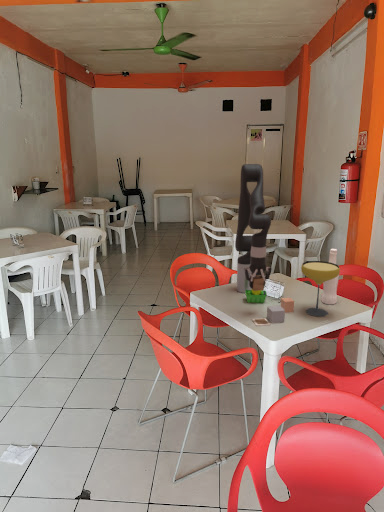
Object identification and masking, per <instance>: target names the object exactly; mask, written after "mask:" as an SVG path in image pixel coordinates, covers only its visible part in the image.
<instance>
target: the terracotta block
mask: <svg viewBox="0 0 384 512" xmlns="http://www.w3.org/2000/svg"><path fill="white" fill-rule="evenodd" d="M280 306H281V307H282V308H283V309H284V310H285V314H287V313H294V310H295V309H294V308H295V301H294V300H293V299H292V298H291V297H283V298H282V297H281V298H280Z"/></svg>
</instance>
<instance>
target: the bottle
mask: <svg viewBox="0 0 384 512" xmlns="http://www.w3.org/2000/svg"><path fill="white" fill-rule="evenodd" d="M328 253H329V256H328V257H329V258H328V262H330V263H334V264H336V265H337V255H338V248H330V250H329V252H328ZM339 278H340V274H339V275H338V276H337V277H336V278H334V279H331V280H328V281H325V282H323V283H322V284H323V285H322V293H321V297H320V298H321V302H322V303H323V304H325V305H336V304H337V300H338V296H337V292H338V284H339Z"/></svg>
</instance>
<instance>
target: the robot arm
mask: <svg viewBox="0 0 384 512" xmlns="http://www.w3.org/2000/svg"><path fill="white" fill-rule="evenodd" d="M248 183H256V186H255V187H254V189H253V190H252V192H251V194H250V191H249V189H248ZM239 191H240V192H239V193H240V194H239V200H238V201H239V204H238V210H237V211H238V214H237V215H238V216H237V228H236V235H235V243H234V244H235V246H234V247H235V250H236V251H237V252H241V253H242V252H246V253H245V254H243V255H239V256H238V258H237V260H236V261H237V264H236V265H237V267H236V270H237V271H236V273H237V274H236V291H237V292H238V293H240V294H241V293H242V294H246V292H245V290H252V288H253V278H254V277H255V276H261V277H262V278H264V287H265V286H266V280H270V277H271V276H270V275H271V273H272V267H270V266H267V265H266V264H267V261H266V260H267V237H268V233H269V230H270V227H271V224H272V218H271V216H270V215H269V214H266V213H265V211H266V205H265V197H264V169H263V166H262V165H261V164H259V163H244V164H242V165H241V169H240V189H239ZM263 213H265V214H263ZM248 227H250V229H251V230H261V231H259V232H256V233H253V234H252V235H244V233H245V231H246V229H247V228H248ZM265 271H266V272H265ZM264 272H265V273H264ZM264 287H263V289H264Z"/></svg>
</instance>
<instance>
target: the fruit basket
mask: <svg viewBox="0 0 384 512" xmlns="http://www.w3.org/2000/svg"><path fill="white" fill-rule="evenodd" d="M245 292H246V293H245V297H246V301H247V303H257V304H259V303H260V304H264V303H265V301H266V298H267V295H268V294H267V290H259V291H253V290H245Z"/></svg>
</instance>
